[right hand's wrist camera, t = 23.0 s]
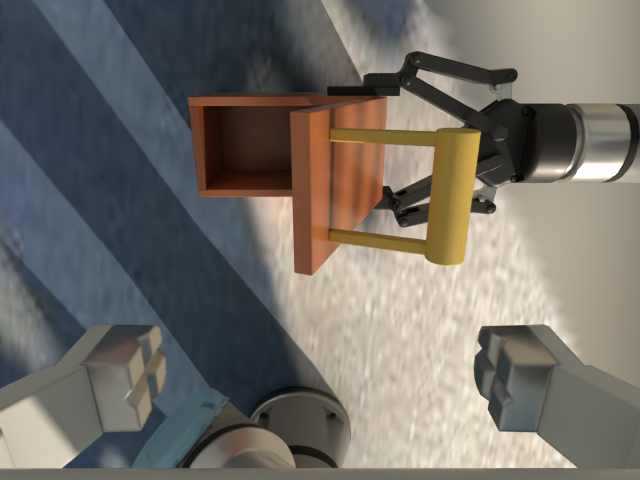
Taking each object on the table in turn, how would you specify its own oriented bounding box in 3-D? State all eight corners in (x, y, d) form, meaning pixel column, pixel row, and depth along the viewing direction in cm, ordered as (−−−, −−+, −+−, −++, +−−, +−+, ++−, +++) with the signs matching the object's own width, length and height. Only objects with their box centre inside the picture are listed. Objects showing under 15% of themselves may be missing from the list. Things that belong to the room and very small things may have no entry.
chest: (220, 175, 49) (198, 197, 40) (212, 92, 46) (187, 96, 37) (365, 174, 49) (375, 196, 40) (368, 92, 46) (380, 96, 37)
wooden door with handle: (294, 273, 25) (457, 301, 21) (289, 111, 21) (482, 116, 18) (370, 197, 40) (472, 207, 37) (374, 96, 36) (487, 97, 33)
